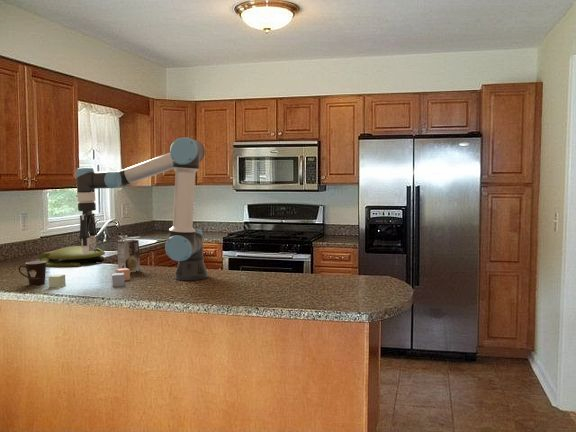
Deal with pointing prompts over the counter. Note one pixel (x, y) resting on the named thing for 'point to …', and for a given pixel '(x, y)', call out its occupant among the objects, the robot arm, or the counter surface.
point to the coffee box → (128, 255)
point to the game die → (91, 243)
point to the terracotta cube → (126, 273)
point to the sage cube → (57, 281)
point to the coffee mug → (35, 272)
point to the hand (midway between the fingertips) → (89, 251)
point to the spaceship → (69, 256)
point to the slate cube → (118, 279)
